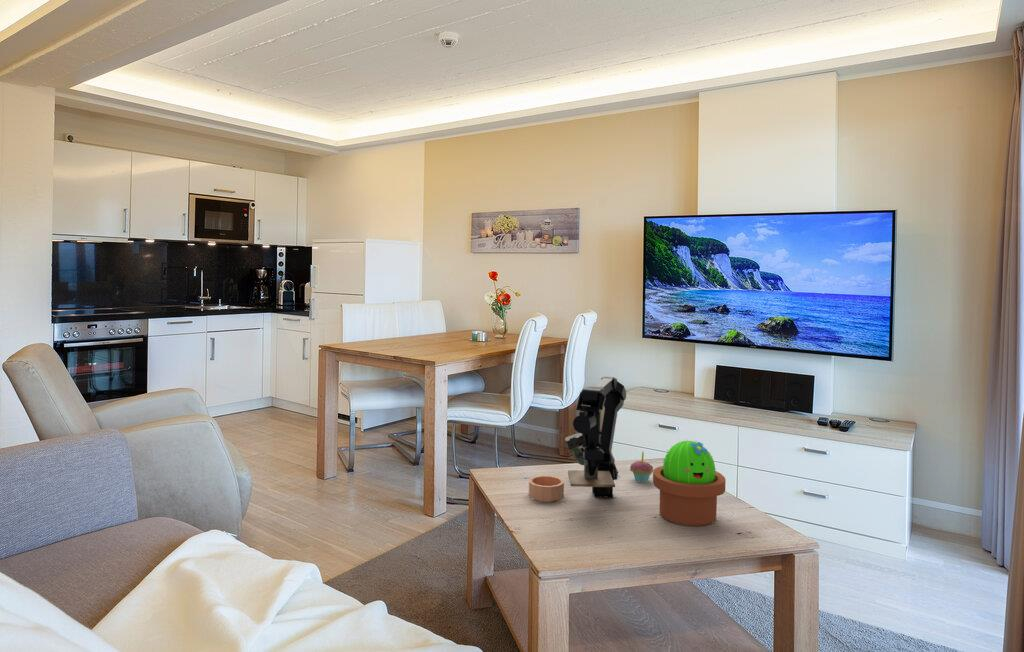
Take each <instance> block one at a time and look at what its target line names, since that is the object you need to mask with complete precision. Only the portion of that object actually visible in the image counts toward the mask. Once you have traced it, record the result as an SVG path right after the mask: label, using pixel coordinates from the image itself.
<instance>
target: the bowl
mask: <svg viewBox="0 0 1024 652" xmlns="http://www.w3.org/2000/svg"><path fill="white" fill-rule="evenodd" d="M564 489H565V482H564V479H562V478H560V477H559V476H552V475H537V476H532V477H531V478H529V480H528V496H530V498H531V497H532V498H533V500H535V499H537V500H536V501H539V500H541V501H540V502H554V500H556V501H560V500H561V499H563V498H564V496H565V495H564V492H565V490H564ZM532 498H531V499H532ZM559 499H560V500H559Z"/></svg>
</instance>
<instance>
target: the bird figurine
mask: <svg viewBox="0 0 1024 652" xmlns="http://www.w3.org/2000/svg"><path fill="white" fill-rule="evenodd" d="M581 448H582V447H580V446H578V447H575V448H573V449H571V450H569V449H568V446H567V445H566V446H564V447H563V449H567V450H569V452H570V454H572V456H573V457H574V460H575V462H576V463H577V464H579V465H580V466H584V460H586V459H584V457H583V452H582V451H581ZM582 471H584V469H583V470H582ZM617 474H619V471H618V472H617Z"/></svg>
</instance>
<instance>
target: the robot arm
mask: <svg viewBox="0 0 1024 652" xmlns="http://www.w3.org/2000/svg"><path fill="white" fill-rule="evenodd" d="M626 398H627V389H626V388H625V385H623V384H622V383H620V382H619V381H618V379H617V378H616V377H614V376H601V378H600V380H599V381H598V382H597V383H595V384H594V385H593V386H585V387H583V388H582V390H580V393H579V396H578V400H577V404H576V408H575V410H576V411H579V412H578V415H577V416H575V418H574V419H573V422H572V426H573V429H574V430H575V431H576V432H577V433H575V434H572V435H568V436H567V437H565V438H564V440H565V443H566V447H567V446H568V449H567V450H569V451H570V450H571V449H573V448H575V447H580V448H581V451H582V452H583V457H584V459H586V460H587V462H588V468H589V474H590V476H593V475H594V473H595V471H596V468H597V466H598V471H609V472H610V474H611V476H612V479H613V481H614V482H615V480H616V481H617V480H618V476H619V475H618V474H619V470H618V469H617V466H616V463H615V457H614V455H613V452H612V449H613V444H614V437H615V430H616V423H617V418H618V412H619V411H620V410H621V409H622V408H623V406H624V403H625V401H626ZM602 410H604V411H603V418H602V419H601V414H602V413H601V412H602ZM601 420H602V422H601ZM601 424H602V425H601ZM617 472H618V473H617ZM591 488H592V490H591V491H592V492H591V493H592V494H593V495H594V498H612V499H613V498H614V493H613V491H614V490H613V489H614V487H591Z"/></svg>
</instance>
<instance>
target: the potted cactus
mask: <svg viewBox="0 0 1024 652" xmlns="http://www.w3.org/2000/svg"><path fill="white" fill-rule="evenodd" d="M666 451H667V452H666V454H665V457H664V458H663V465H662V466H661V465H660V466H658V467H655V468H653V472H652V484H653V486H654V487H655V488H656V489H658V490H659V505H658V506H659V514H660V516H661V517H662V518H663V519H665V520H666V521H668V522H671V523H673V524H677V525H682V526H689V527H690V526H691V527H701V526H709V525H711V524H713V523H714V522H716V520H717V509H718V507H717V504H718V497H719V496H722V495H723V494H724V493H725V492H726V482H727V481H726V477H725V476H724V475H723V474H722V473H720V472H718V471H717V470H718V469H717V468H716V466H715V465H716V464H715V462H714V458H713V456H712V455H711V452H709V451H708V448H706V447H704V443H702V442H699V441H697V440H688V439H686V440H684V441H683V440H681V441H678V442H676V444H673V445H671V446H670V448H669V449H667V450H666Z"/></svg>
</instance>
